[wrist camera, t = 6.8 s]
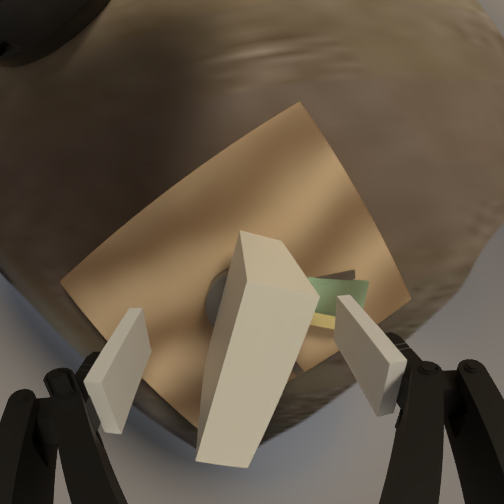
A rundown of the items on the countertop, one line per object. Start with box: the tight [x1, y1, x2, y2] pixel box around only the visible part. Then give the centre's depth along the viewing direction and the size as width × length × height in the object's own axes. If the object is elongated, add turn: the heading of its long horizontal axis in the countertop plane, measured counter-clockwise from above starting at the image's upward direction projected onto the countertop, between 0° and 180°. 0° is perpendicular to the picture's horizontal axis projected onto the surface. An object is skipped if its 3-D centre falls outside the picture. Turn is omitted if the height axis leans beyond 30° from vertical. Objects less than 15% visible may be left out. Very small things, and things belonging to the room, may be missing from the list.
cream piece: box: [196, 230, 335, 468], centre depth 16 cm, size 10×9×10 cm
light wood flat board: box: [60, 101, 411, 428], centre depth 21 cm, size 16×20×2 cm
